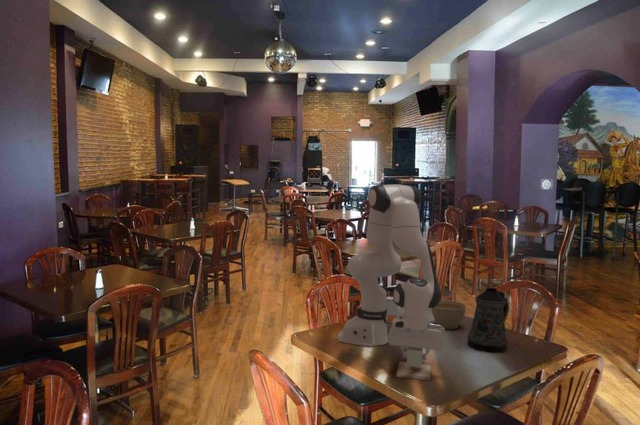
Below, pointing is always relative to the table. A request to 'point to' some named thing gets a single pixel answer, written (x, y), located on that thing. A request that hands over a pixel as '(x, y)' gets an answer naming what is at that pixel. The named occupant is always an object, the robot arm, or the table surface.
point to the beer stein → (489, 322)
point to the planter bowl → (449, 313)
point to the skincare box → (391, 309)
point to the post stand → (414, 371)
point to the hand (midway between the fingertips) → (414, 358)
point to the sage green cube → (414, 357)
